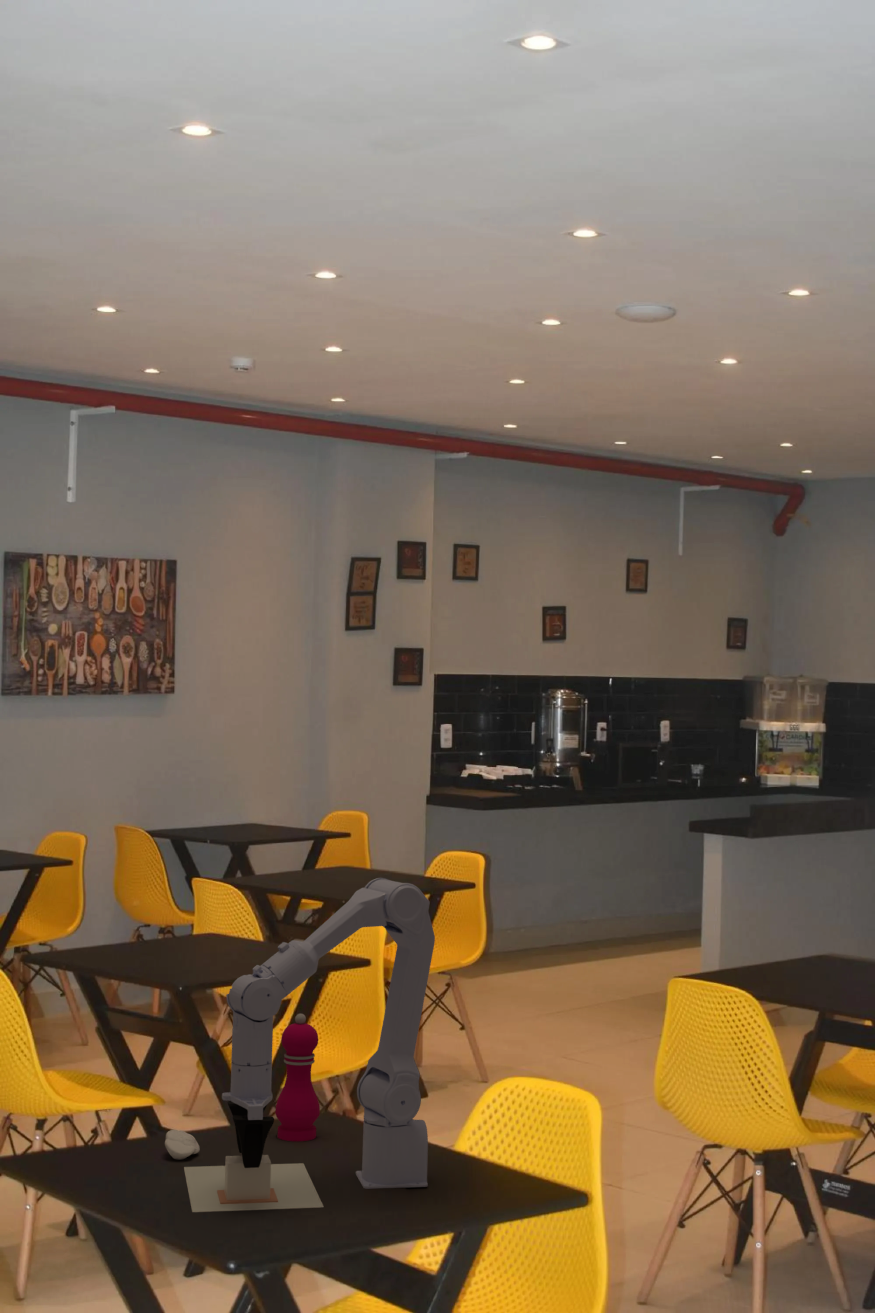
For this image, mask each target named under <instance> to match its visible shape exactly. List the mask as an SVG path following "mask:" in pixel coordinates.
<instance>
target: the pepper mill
mask: <svg viewBox="0 0 875 1313" xmlns="http://www.w3.org/2000/svg"><path fill="white" fill-rule="evenodd" d="M306 1020H307V1018H306V1015H305V1014H304V1013H297V1014H296V1016H295V1017H294V1021H295V1022H294V1023H292V1024H289V1025H288V1026H286V1027H285V1028H284V1030H283V1032H282V1033H281V1041H280V1042H281V1045H282V1048H283V1049H284V1050H285V1051H286V1052H285V1053H284V1054H283V1057H284V1058H283V1062H284V1064H286V1066H285V1067H286V1078H285V1080H284V1081H285V1082H284V1085H283V1088H282V1090H281V1092H280V1094H279V1095H278V1098H277V1101H276V1105H275V1111H274V1113H275V1116H276V1118H277V1120H278V1121H279V1122H280V1125H278V1126H277V1139H280V1140H281V1141H288V1142H304V1141H305V1142H306V1141H311V1140H315V1138H316V1139H317V1126H316V1125H315V1124H314V1123H315V1122H316V1121H317V1120H318V1118H319V1116H320V1114H321V1110H320V1108H321V1107H320V1102H319V1099H318V1098H319V1097H318V1096H317V1094H316V1091H315V1089H314V1086H313V1082H312V1065H313V1064H314V1063H315V1056H316V1055H315V1053H313V1052H314V1051H315V1049H316V1048H317V1047H318V1043H319V1035H318V1032H317V1029H315V1027H314V1026H313V1025H310V1024H309V1023H306Z"/></svg>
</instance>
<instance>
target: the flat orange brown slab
mask: <svg viewBox="0 0 875 1313" xmlns="http://www.w3.org/2000/svg"><path fill="white" fill-rule="evenodd" d="M217 1193H218V1197H219V1201H220V1204H240V1203H267V1202H278V1199H277V1196H276V1194H275V1191H274V1188H270V1199H249V1200H227V1199H226V1196H225V1192H224V1190H217Z"/></svg>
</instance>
